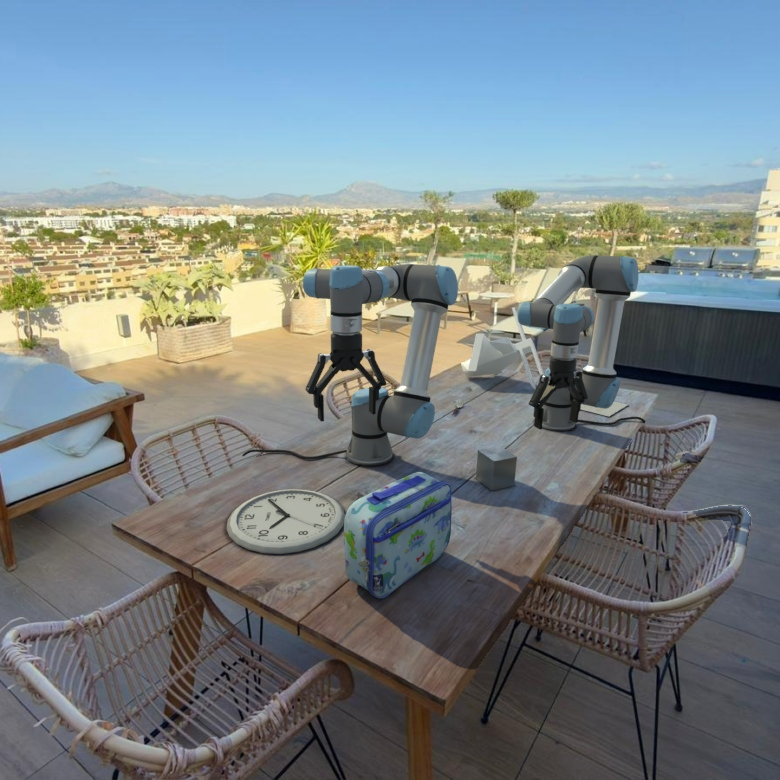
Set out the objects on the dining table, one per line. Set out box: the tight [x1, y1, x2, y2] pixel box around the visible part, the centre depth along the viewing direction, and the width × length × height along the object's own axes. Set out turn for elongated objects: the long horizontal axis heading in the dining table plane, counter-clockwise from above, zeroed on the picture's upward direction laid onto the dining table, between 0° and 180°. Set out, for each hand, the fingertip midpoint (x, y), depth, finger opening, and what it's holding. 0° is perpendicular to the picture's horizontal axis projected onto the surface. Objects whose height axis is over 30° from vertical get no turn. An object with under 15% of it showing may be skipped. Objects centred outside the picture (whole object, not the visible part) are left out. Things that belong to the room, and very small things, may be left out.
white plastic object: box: [460, 306, 545, 391], centre depth 259 cm, size 37×45×31 cm
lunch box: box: [343, 471, 453, 599], centre depth 113 cm, size 26×11×21 cm, turn 134°
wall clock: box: [226, 488, 346, 555], centre depth 135 cm, size 30×2×30 cm
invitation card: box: [580, 401, 629, 418], centre depth 226 cm, size 21×1×15 cm
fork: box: [452, 399, 465, 416], centre depth 218 cm, size 3×16×2 cm, turn 160°
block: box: [475, 445, 518, 492], centre depth 156 cm, size 8×8×9 cm
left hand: (347, 416), depth 131 cm, fingers open, 13 cm apart
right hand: (556, 424), depth 160 cm, fingers open, 13 cm apart
